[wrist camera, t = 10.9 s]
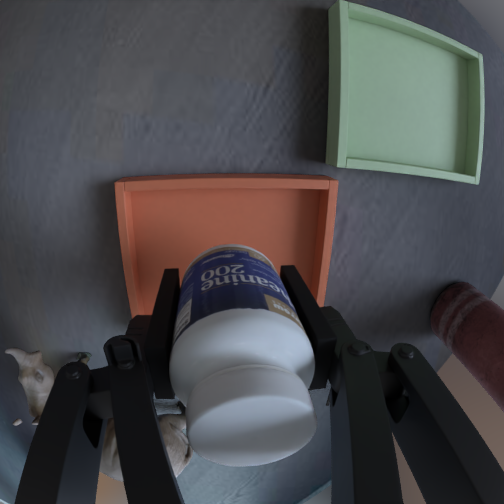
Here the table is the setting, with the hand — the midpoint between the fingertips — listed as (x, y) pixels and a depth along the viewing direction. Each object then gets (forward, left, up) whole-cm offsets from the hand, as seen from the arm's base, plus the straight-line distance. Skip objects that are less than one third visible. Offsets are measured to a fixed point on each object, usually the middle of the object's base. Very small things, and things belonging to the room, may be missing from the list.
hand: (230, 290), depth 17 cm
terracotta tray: (0, 0, -5) cm, 5 cm away
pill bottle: (0, 0, -1) cm, 1 cm away
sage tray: (-13, -12, -5) cm, 18 cm away
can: (-22, +6, -5) cm, 23 cm away
